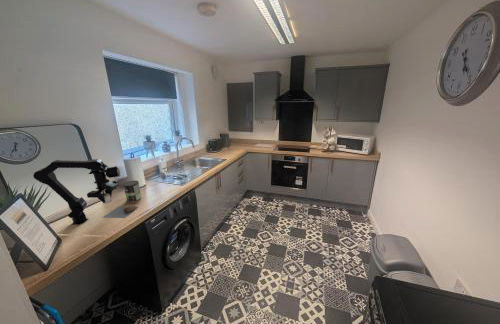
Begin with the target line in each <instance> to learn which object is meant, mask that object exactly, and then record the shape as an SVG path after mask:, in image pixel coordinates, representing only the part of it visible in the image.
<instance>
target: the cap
mask: <svg viewBox="0 0 500 324" xmlns="http://www.w3.org/2000/svg"><path fill="white" fill-rule="evenodd" d="M104 193H105V192H104ZM104 199H105V203H104V204H109V203H111V202H112V196H111V197H110V194H109V193H108V194H106V193H105V195H104Z"/></svg>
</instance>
